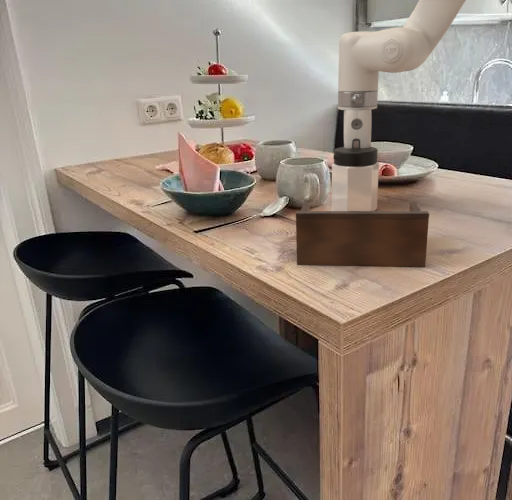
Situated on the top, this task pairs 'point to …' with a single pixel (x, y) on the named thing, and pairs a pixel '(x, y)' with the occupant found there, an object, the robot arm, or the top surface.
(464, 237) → the top surface
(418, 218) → the brown wooden tray
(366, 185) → the jar
